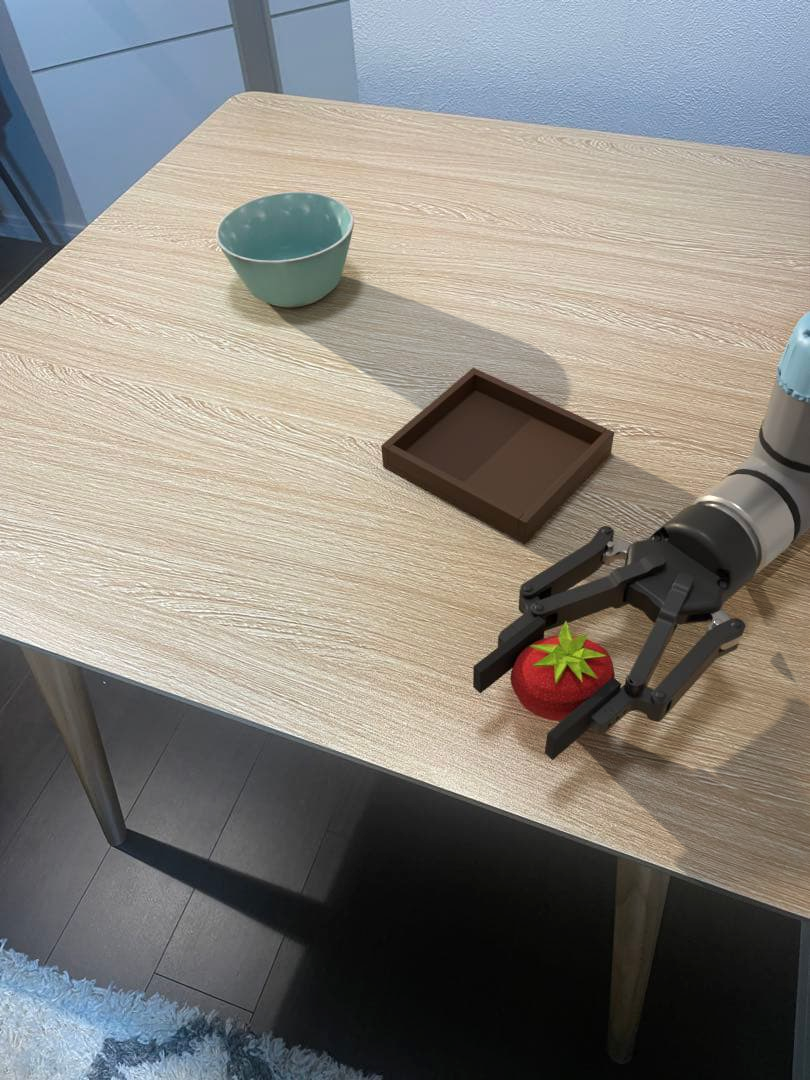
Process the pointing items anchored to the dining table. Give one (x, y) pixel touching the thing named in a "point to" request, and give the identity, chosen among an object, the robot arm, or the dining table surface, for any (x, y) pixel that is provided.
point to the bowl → (288, 245)
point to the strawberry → (560, 674)
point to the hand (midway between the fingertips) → (512, 712)
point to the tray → (498, 453)
